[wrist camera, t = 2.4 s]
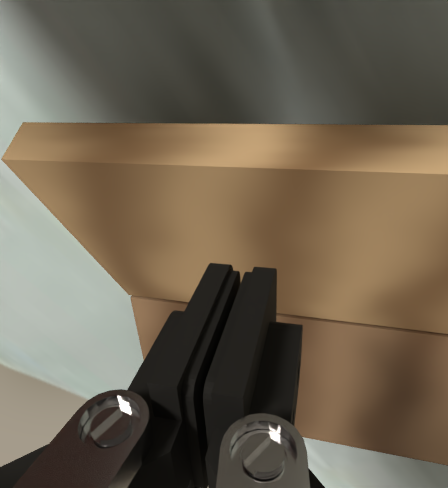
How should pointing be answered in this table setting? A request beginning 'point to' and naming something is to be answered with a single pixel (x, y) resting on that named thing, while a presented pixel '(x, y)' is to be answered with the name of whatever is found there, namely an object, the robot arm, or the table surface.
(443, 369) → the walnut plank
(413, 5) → the table surface
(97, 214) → the oak plank
